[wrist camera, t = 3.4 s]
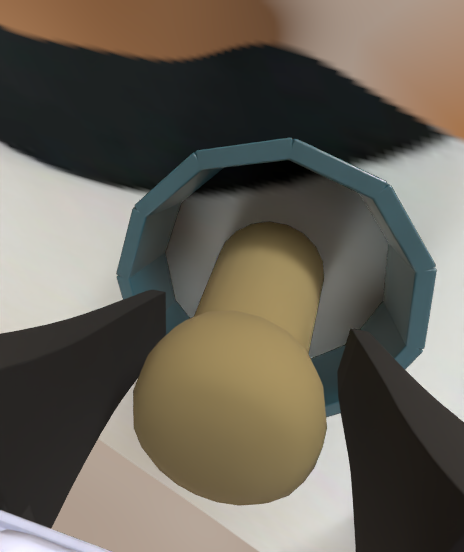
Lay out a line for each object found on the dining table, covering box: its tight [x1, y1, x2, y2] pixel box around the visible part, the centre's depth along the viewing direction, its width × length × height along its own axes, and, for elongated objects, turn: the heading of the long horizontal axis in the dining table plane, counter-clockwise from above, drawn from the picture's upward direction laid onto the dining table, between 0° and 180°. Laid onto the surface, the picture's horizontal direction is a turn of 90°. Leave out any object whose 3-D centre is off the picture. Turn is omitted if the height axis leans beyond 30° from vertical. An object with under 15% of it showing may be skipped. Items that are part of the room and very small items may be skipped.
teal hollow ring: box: [116, 138, 437, 417], centre depth 15 cm, size 13×13×4 cm
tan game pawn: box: [133, 222, 327, 505], centre depth 11 cm, size 6×6×11 cm
